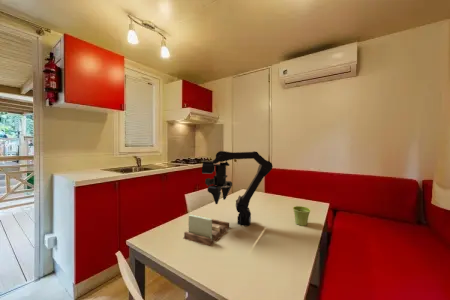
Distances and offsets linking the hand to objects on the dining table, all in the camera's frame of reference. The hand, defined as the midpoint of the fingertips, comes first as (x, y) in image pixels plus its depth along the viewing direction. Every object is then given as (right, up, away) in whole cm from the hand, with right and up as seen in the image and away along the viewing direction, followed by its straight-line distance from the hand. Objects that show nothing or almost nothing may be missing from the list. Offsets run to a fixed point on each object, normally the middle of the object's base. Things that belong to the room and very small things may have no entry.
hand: (220, 201), depth 103 cm
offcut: (-3, -13, -12) cm, 17 cm away
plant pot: (+46, -14, +3) cm, 48 cm away
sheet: (-9, -13, -16) cm, 23 cm away
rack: (-6, -13, -10) cm, 18 cm away
